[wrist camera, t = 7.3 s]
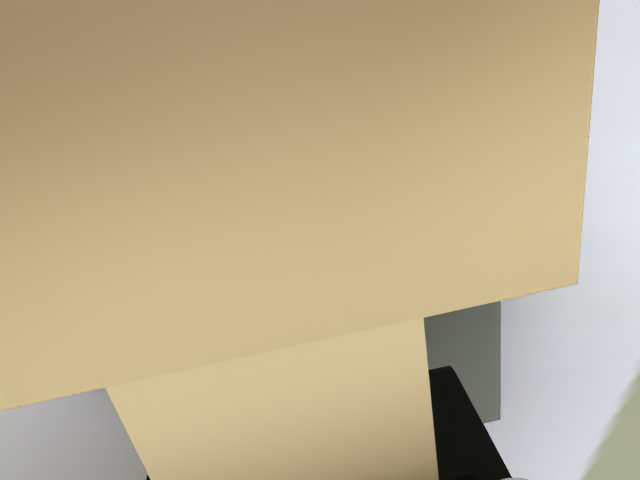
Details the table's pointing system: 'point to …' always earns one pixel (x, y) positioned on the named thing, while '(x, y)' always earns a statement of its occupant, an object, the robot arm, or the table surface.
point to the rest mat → (469, 353)
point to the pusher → (278, 213)
